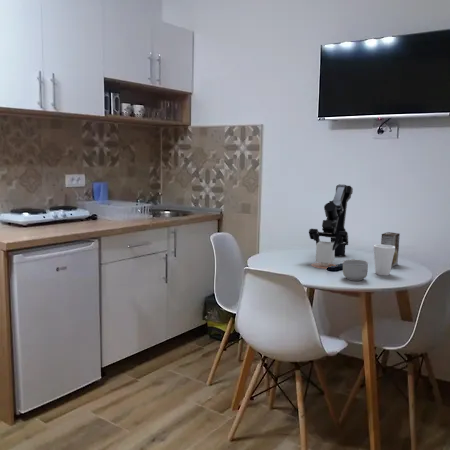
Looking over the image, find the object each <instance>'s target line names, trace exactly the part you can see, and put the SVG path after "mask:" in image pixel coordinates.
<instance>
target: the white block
mask: <svg viewBox="0 0 450 450" xmlns="http://www.w3.org/2000/svg"><path fill="white" fill-rule="evenodd" d="M333 245H334V242H331V241H323V240H322V241H321V240H320V242H318V243H317V245H316V244H315V246H316V248H315V252H316V253H315V263H321V262H322V263H330V264H333V262H334V261H335V256H334V255H335V249H334V250H333Z"/></svg>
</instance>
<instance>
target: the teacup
mask: <svg viewBox="0 0 450 450" xmlns="http://www.w3.org/2000/svg"><path fill="white" fill-rule="evenodd" d="M368 265H369V262H368V261H367V260H364V259H355V258H352V259H346V260H343V261H342V273H343V277H345V278H346V279H347V280H349V281H355V282H357V281H363V280H364V279H366V277H367V276H368V270H369V266H368Z"/></svg>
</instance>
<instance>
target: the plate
mask: <svg viewBox="0 0 450 450" xmlns="http://www.w3.org/2000/svg"><path fill="white" fill-rule="evenodd" d="M310 265H311V266H312V267H314V268H318V269H323V270H325V269H327V268H328V267H331V266H336V265H337V264H335V263H329V266H328V267H324V266H321V262H314V263H311V264H310ZM327 270H328V269H327Z"/></svg>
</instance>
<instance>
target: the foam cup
mask: <svg viewBox="0 0 450 450" xmlns="http://www.w3.org/2000/svg"><path fill="white" fill-rule="evenodd" d="M394 253H395V247H394V246H391V245H382V244H381V243H380V244H374V245H373V256H374V257H373V258H374V259H373V260H374V270H375V271H374V272H375V274H376V275H379V276H390V274H391V269H392V267H391V265H392V261H393V256H394Z"/></svg>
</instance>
